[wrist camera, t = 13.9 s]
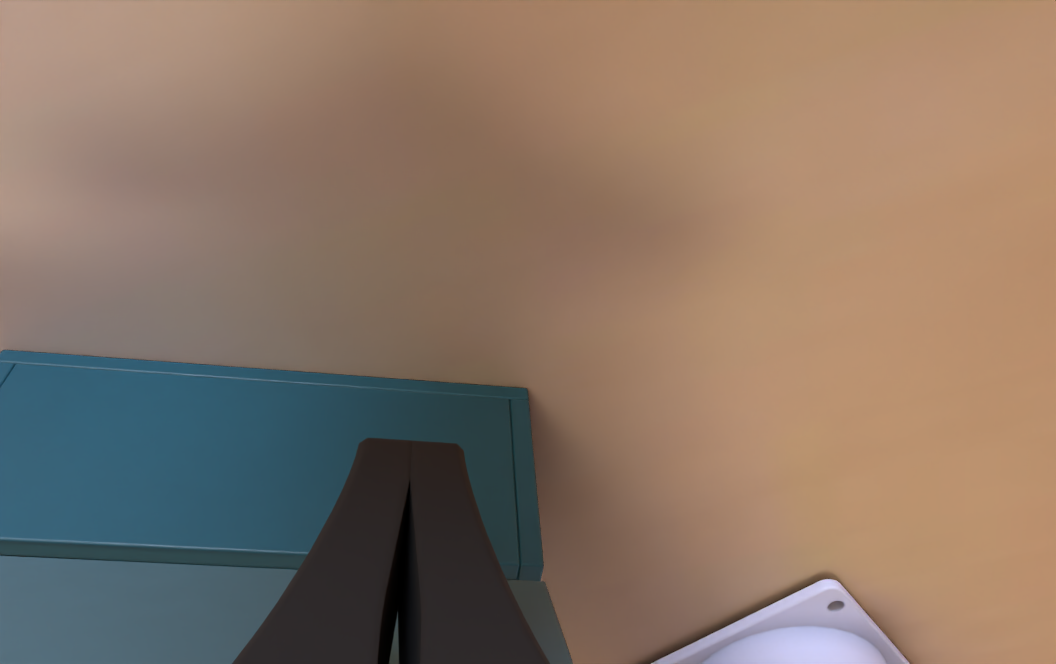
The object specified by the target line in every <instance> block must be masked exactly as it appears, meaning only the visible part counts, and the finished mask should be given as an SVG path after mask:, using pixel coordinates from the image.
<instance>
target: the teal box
mask: <svg viewBox="0 0 1056 664" xmlns="http://www.w3.org/2000/svg"><path fill="white" fill-rule="evenodd" d="M366 438H382V439H397V440H412V441H428V442H443V443H457V444H458V445H459V446H460V447H461V448H462V449H463V450H464V457H465V462H466V467H467V472H468V476H469V480H470V484H471V487H472V490H473V494H474V497H475V500H476V503H477V506H478V509H479V512H480V515H481V518H482V521H483V524H484V527H485V529H486V532H487V535H488V537H489V539H490V542H491V544H492V547H493V549H494V552H495V554H496V556H497V559H498V561H499V564H500V566H501V569H502V571H503V573H504V575H505V578H506V580H525V581H541V576H542V572H543V567H544V561H543V550H542V539H541V528H540V517H539V507H538V496H537V485H536V474H535V463H534V452H533V441H532V430H531V419H530V408H529V397H528V389H526V388H516V387H502V386H489V385H475V384H461V383H448V382H434V381H421V380H407V379H393V378H380V377H366V376H353V375H339V374H325V373H312V372H298V371H285V370H271V369H257V368H244V367H230V366H217V365H203V364H189V363H176V362H162V361H148V360H135V359H121V358H108V357H94V356H80V355H67V354H53V353H40V352H26V351H12V350H3V351H2V352H1V353H0V556H17V557H38V558H59V559H80V560H101V561H122V562H144V563H165V564H186V565H207V566H228V567H250V568H271V569H292V570H298V569H299V568H300V566H301V564H302V563H303V561H304V560H305V558H306V556H307V555H308V553H309V551H310V550H311V548H312V546H313V544H314V543H315V541H316V539H317V537H318V535H319V533H320V532H321V530H322V528H323V526H324V524H325V523H326V521H327V519H328V517H329V515H330V513H331V512H332V510H333V508H334V506H335V504H336V501H337V499H338V497H339V495H340V493H341V491H342V489H343V487H344V484H345V482H346V480H347V478H348V475H349V473H350V470H351V467H352V465H353V462H354V459H355V456H356V453H357V449H358V445H359V443H360V442H362V441H363V440H365V439H366Z"/></svg>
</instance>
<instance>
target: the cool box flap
mask: <svg viewBox="0 0 1056 664" xmlns="http://www.w3.org/2000/svg"><path fill="white" fill-rule="evenodd" d="M297 571H298V570H292V569H271V568H250V567H228V566H207V565H186V564H165V563H144V562H122V561H101V560H80V559H59V558H38V557H17V556H0V664H232V663H233V661H234V660H235V659H236V658H237V656H238V655H239V654H240V652H241V651H242V650H243V649H244V647H245V646H246V645H247V643H248V642H249V641H250V639H251V638H252V637H253V635H254V634H255V633H256V631H257V630H258V629H259V627H260V626H261V625H262V623H263V622H264V620H265V619H266V617H267V616H268V615H269V613H270V612H271V610H272V609H273V608H274V606H275V605H276V603H277V602H278V600H279V599H280V597H281V596H282V594H283V592H284V591H285V589H286V588H287V586H288V585H289V583H290V582H291V580H292V578H293V577H294V575H295V574H296V572H297ZM507 582H508V584H509V586H510V589H511V591H512V593H513V595H514V597H515V599H516V601H517V603H518V605H519V607H520V609H521V611H522V613H523V615H524V617H525V619H526V621H527V623H528V625H529V627H530V629H531V630H532V632H533V634H534V636H535V638H536V640H537V642H538V643H539V645H540V647H541V649H542V650H543V652H544V654H545V656H546V657H547V659H548V661H549V662H550V664H573V662H572V659H571V656H570V653H569V650H568V647H567V644H566V641H565V638H564V636H563V633H562V630H561V627H560V624H559V621H558V618H557V615H556V612H555V609H554V606H553V603H552V601H551V598H550V595H549V592H548V589H547V586H546V583H545V582H544V581H525V580H507ZM389 664H399V643H398V614H397V619H396V625H395V631H394V637H393V643H392V649H391V655H390V661H389Z"/></svg>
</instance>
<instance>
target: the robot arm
mask: <svg viewBox="0 0 1056 664" xmlns="http://www.w3.org/2000/svg"><path fill="white" fill-rule="evenodd" d="M397 614H398V643H399V664H550V662H549V661H548V659H547V657H546V656H545V654H544V652H543V650H542V649H541V647H540V645H539V643H538V642H537V640H536V638H535V636H534V634H533V632H532V630H531V629H530V627H529V625H528V623H527V621H526V619H525V617H524V615H523V613H522V611H521V609H520V607H519V605H518V603H517V601H516V599H515V597H514V595H513V593H512V591H511V589H510V586H509V584H508V582H507V580H506V578H505V575H504V573H503V571H502V569H501V566H500V564H499V561H498V559H497V556H496V554H495V552H494V549H493V547H492V544H491V542H490V539H489V537H488V535H487V532H486V529H485V527H484V524H483V521H482V518H481V515H480V512H479V509H478V506H477V503H476V500H475V497H474V494H473V490H472V487H471V484H470V480H469V476H468V472H467V467H466V462H465V457H464V450H463V449H462V448H461V447H460V446H459V445H458V444H457V443H443V442H428V441H412V440H397V439H382V438H366V439H365V440H363V441H362V442H360V443H359V445H358V449H357V453H356V456H355V459H354V462H353V465H352V467H351V470H350V473H349V475H348V478H347V480H346V482H345V484H344V487H343V489H342V491H341V493H340V495H339V497H338V499H337V501H336V504H335V506H334V508H333V510H332V512H331V513H330V515H329V517H328V519H327V521H326V523H325V524H324V526H323V528H322V530H321V532H320V533H319V535H318V537H317V539H316V541H315V543H314V544H313V546H312V548H311V550H310V551H309V553H308V555H307V556H306V558H305V560H304V561H303V563H302V564H301V566H300V568H299V569H298V571H297V572H296V574H295V575H294V577H293V578H292V580H291V582H290V583H289V585H288V586H287V588H286V589H285V591H284V592H283V594H282V596H281V597H280V599H279V600H278V602H277V603H276V605H275V606H274V608H273V609H272V610H271V612H270V613H269V615H268V616H267V617H266V619H265V620H264V622H263V623H262V625H261V626H260V627H259V629H258V630H257V631H256V633H255V634H254V635H253V637H252V638H251V639H250V641H249V642H248V643H247V645H246V646H245V647H244V649H243V650H242V651H241V652H240V654H239V655H238V656H237V658H236V659H235V660H234V661H233V663H232V664H389V661H390V655H391V649H392V643H393V637H394V631H395V625H396V619H397ZM651 664H910V663H909V662H908V660H907V659H906V658H905V657H904V656H903V655H902V654H901V652H900V651H899V650H898V649H897V648H896V647H895V646H894V644H893V643H892V642H891V641H890V640H889V639H888V638H887V636H886V635H885V634H884V633H883V632H882V631H881V630H880V628H879V627H878V626H877V625H876V624H875V623H874V622H873V620H872V619H871V618H870V617H869V616H868V615H867V614H866V612H865V611H864V610H863V609H862V608H861V607H860V605H859V604H858V603H857V602H856V601H855V600H854V599H853V597H852V596H851V595H850V594H849V593H848V592H847V591H846V589H845V588H844V587H843V586H842V585H841V584H840V583H839V582H838V581H836V580H832V579H824V580H821V581H818V582H816V583H814V584H812V585H810V586H808V587H806V588H804V589H802V590H800V591H798V592H796V593H793V594H791V595H789V596H787V597H785V598H783V599H781V600H779V601H777V602H775V603H773V604H771V605H769V606H767V607H765V608H763V609H761V610H759V611H757V612H755V613H753V614H751V615H749V616H747V617H744V618H742V619H740V620H738V621H736V622H734V623H732V624H730V625H728V626H726V627H724V628H722V629H720V630H718V631H716V632H714V633H712V634H710V635H708V636H706V637H704V638H702V639H700V640H698V641H696V642H693V643H691V644H689V645H687V646H685V647H683V648H681V649H679V650H677V651H675V652H673V653H671V654H669V655H667V656H665V657H663V658H661V659H659V660H657V661H655V662H653V663H651Z"/></svg>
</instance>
